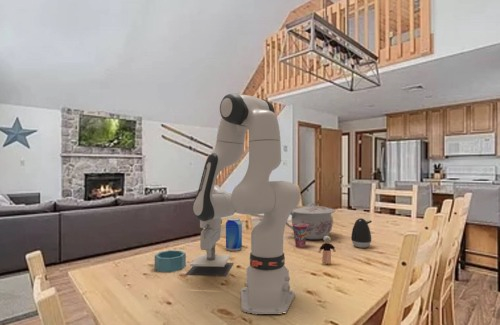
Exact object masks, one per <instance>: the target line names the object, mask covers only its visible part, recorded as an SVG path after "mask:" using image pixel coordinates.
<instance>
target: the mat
mask: <svg viewBox="0 0 500 325" xmlns="http://www.w3.org/2000/svg"><path fill="white" fill-rule="evenodd" d="M234 264H235V263H234V262H227V263H226V264H225V266H224V267H217V266H191V268H189V270H188V271H187V272H186V273H185V274H184V276H196V277H197V276H203V277H223V278H224V277H225V278H226V277H227V276H228V274H229V273H230V270H232V267H233V266H234Z"/></svg>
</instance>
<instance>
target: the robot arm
mask: <svg viewBox="0 0 500 325" xmlns="http://www.w3.org/2000/svg"><path fill="white" fill-rule="evenodd" d="M275 111H276V110H275V107H274V105H273V104H272V103H271V102H270V101H269V100H266V99H264V98H258V97H256V96H252V95H249V94H239V93H229V94H226V95H224V97H223V98H222V100H221V101H220V104H219V114H220V116H221V119H220V121H219V125H218V130H217V136H216V141H215V142H216V143H215V145H214V148H213V151H212V152H211V154H209V155H208V157H207V158H206V160H205V163H204V167H203V170H202V176H201V178H200V182H199V187H198V190H197V194H196V196H195V199H194V200H193V203H192V212H193V214H194V216H195V217H196V218H197V219H199V228H200V229H202V230H201V232H200V241H199V242H200V244H199V245H200V246H199V248H200V250H201V251H205V252H206V255H207V257H208V258H210V257H212V252H211V249H212V248H215V249H216V244H217V242H219V240H220V238H221V229H222V227H221V226H222V223H223V218H226V217H227V218H228V217H230V216H233V215H234V214H235V213H236V212H237V214H241V215H242V214H243V215H249V216H252V215H253V216H254V215H263V216H262V218H261V221H259V223H258V224H256V225H255V226H254V227H253V228H252V229H251V232H250V249H251V251H250V254H249V266H248V267H246V282H244V287H243V288H241V289H240V292H239V293H240V304H241V306H240V307H241V311H242V312H244V313H246V312H247V313H248V314H250V313H252V314H251V315H257V314H279V313H283V312H286V311H287V310H288V311H289V309H290V307H291V305H292V303H293V301H294V298H295V296H296V292H295V291H294V290H293V289H292V290H291V289H290V288H291V286H290V272H289V271H290V270H289V269H288V268H287V266H285V259H286V258H285V253H284V233H285V228H286V226H287V225H286V222H287V223H288V219H289V217H290V216H291V215H290V214H291V212H292V211H293V210H294V209H295V208H296V207H299V204H300V201H301V192H300V190H299V188H298V186H297V185H296V184H295V183H293V182H290V181H286V180H285V181H284V180H277V181H276V180H275V181H274V180H273V181H272V180H271V181H270V175H271V174H272V172H273V171H274V170H276V169H277V168H278V167H279V166H280V165H281V162H282V146H281V143H282V142H281V130H280V126H279V121H278V117H277V114H276V113H275ZM247 130H248V166H247V170H246V173H245V175H244V176H243V178H242V179H241V181H240V182H239V183H238V184H237V185H235V187H234V189H233V190H232V192H231V193H229V192H226V191H225V190H222V188H221V187H220V186H219V184H216V181H217V178H218V175H219V174H220V172H222V171H223V170H224V169H226V168H228V167H229V166H232V165H235V163H237V162H238V161H239V160H240V159H241V158H242V156H243V155H244V154H243V153H244V150H245V141H246V140H245V138H246V133H247ZM292 213H293V212H292ZM292 300H293V301H292ZM291 302H292V303H291ZM290 304H291V305H290ZM289 306H290V307H289ZM288 308H289V309H288ZM288 311H287V312H288Z"/></svg>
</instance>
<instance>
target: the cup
mask: <svg viewBox="0 0 500 325" xmlns="http://www.w3.org/2000/svg"><path fill="white" fill-rule="evenodd" d="M308 225H310V224H305V223H295V224H292V223H291V226H293V230H294V231H293V230H292V231H293V236H294V238H293V239H294V244H295V248H297V249H304V248H306V242H307V239H306V236H307V228H308Z"/></svg>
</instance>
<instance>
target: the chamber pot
mask: <svg viewBox="0 0 500 325" xmlns="http://www.w3.org/2000/svg"><path fill="white" fill-rule="evenodd" d="M335 212H336V209H334V208H331V207H326V206H321V205H317V204H316V203H313V202H311V203H309V204H308V205H301V206H299V205H298V206H297V207H296V208H295V209H294V210H293V211H292V212H291V214H290V215H289V216H291V225H290V224H289V222H288V221H287V222H286V225H285V226H287V227H289V228H290V229H291V230H292V231H293V232H294V230H293V225H292V224H295V223H305V224H310V225H308V228H307V236H306V240H309V241H319V240H324V239H323V238H324V237H325V236H329V235H330V233H331V232H332V229H333V224H334V218H333V216H332V214H333V213H335Z"/></svg>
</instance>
